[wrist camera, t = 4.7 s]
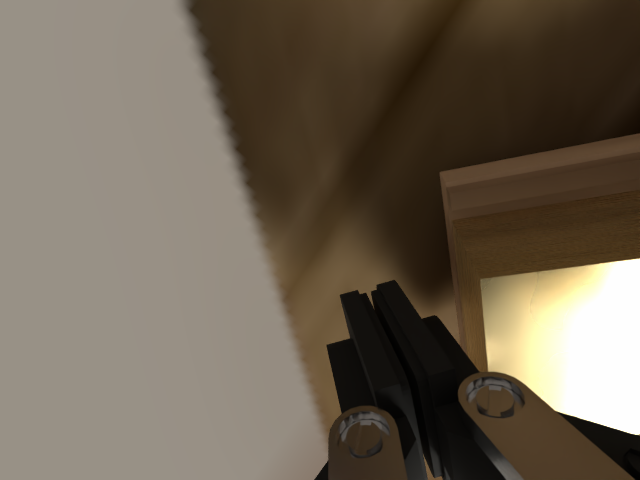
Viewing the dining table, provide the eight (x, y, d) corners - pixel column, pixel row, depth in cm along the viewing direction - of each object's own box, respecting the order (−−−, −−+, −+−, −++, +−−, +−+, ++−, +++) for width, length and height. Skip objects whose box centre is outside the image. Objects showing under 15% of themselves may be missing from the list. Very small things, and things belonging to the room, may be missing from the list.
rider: (451, 220, 11) (480, 279, 8) (690, 181, 10) (833, 233, 7) (466, 350, 13) (494, 440, 10) (671, 331, 12) (777, 427, 9)
